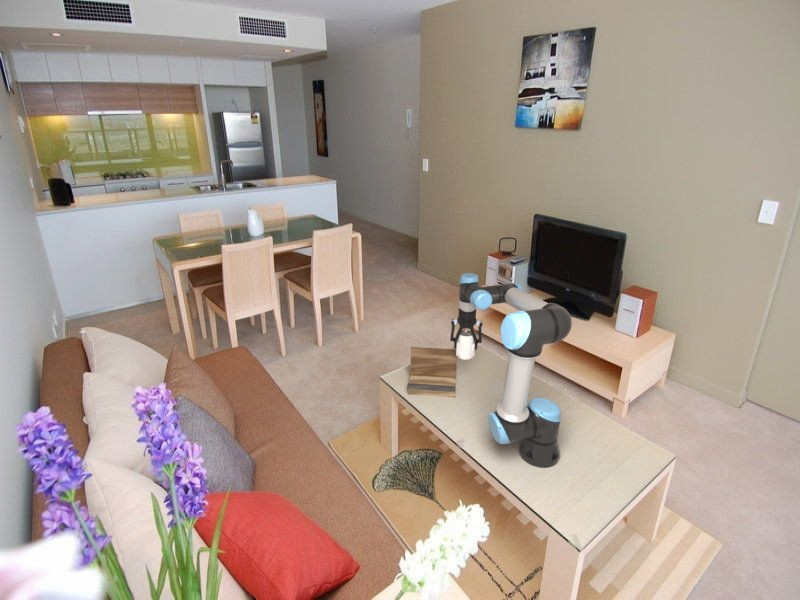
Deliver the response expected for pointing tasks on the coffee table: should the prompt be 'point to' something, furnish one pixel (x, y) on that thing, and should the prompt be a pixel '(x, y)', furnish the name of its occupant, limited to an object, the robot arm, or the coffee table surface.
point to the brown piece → (433, 372)
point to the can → (465, 345)
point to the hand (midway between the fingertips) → (465, 354)
